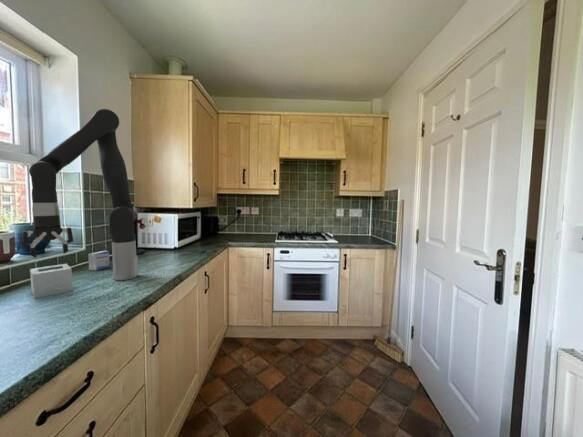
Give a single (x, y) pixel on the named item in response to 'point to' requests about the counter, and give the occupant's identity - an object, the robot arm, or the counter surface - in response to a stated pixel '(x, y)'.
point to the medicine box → (98, 260)
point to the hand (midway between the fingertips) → (50, 255)
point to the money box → (51, 280)
